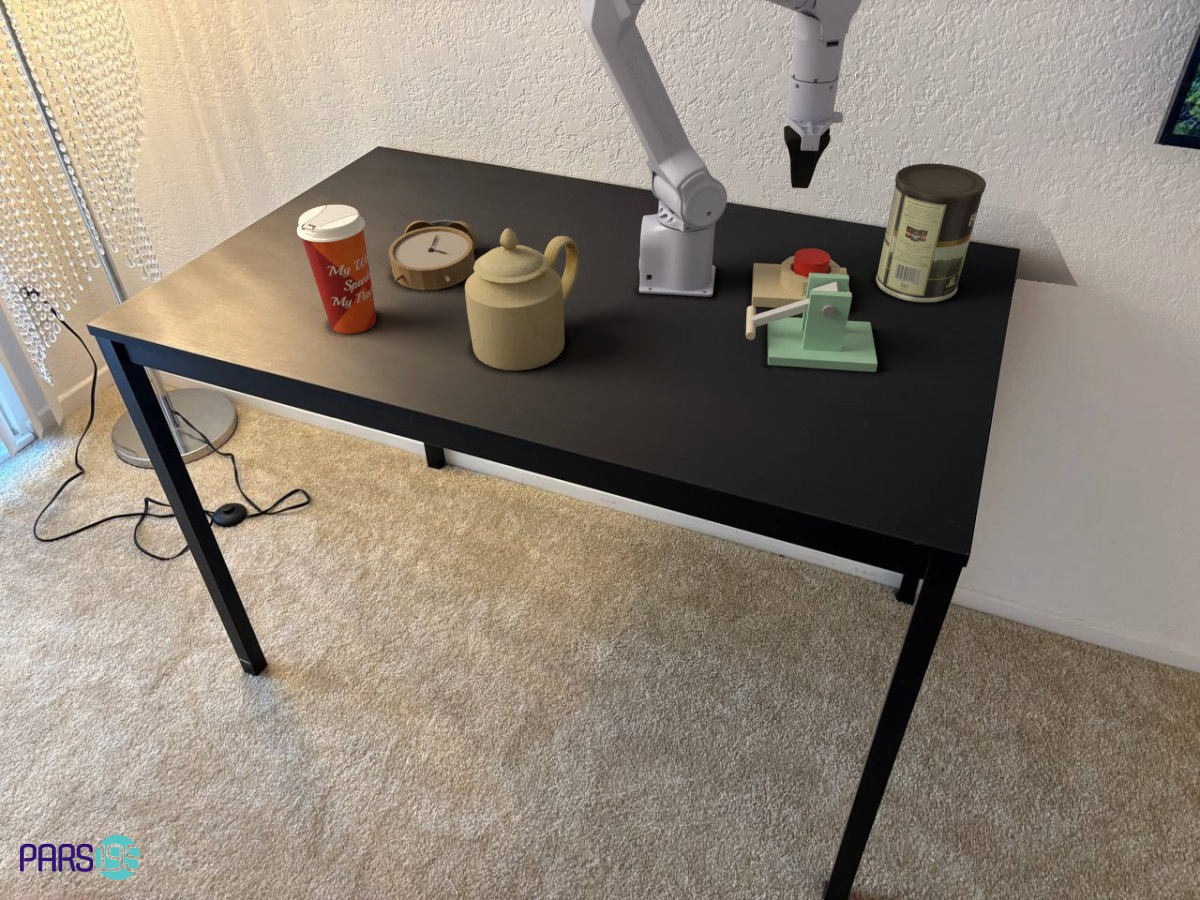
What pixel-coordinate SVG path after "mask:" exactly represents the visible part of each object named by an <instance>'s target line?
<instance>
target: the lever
mask: <svg viewBox="0 0 1200 900" xmlns="http://www.w3.org/2000/svg"><path fill="white" fill-rule="evenodd" d="M812 290H819V291H837V292H840V290H839V287H838V284H837V282H833V283H830V284H827V285H823V286H820V287H817V288H814V289H812ZM808 303H809V298H808V299H805V300H802V301H798V302H795V303H792V304H789V305H786V306H782V307H779V308H772V309H770V310H767V311H763V312H760V313H757V308H756V306H752V305H749V306H747V308H746V320H745V339H747V340H749V341H753V340H754V339H756V331H757V330H756V329H757V328H758V327H760V326H761V327H762V326H764V325H768V323H771V322H774V321H777V320H781V319H784V318H787V317H793V316H798V315H800V314H803V312H807V310H808Z"/></svg>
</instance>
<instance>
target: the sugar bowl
mask: <svg viewBox="0 0 1200 900" xmlns="http://www.w3.org/2000/svg"><path fill="white" fill-rule="evenodd" d="M518 243H519V238H518V236H517V234H516V233H515V232H514V231H513V229H512V228H508V227H506V228H505V229H504V230H503V231H502V233H501V234H500V239H499V244H500V246H497V247H495V248H492V249H490V250H489V251H487V252H486V253H485V254H482V255H481V256H480V257H478V258H477V260H475V265H474V267H473V268H474V270H473V272H472V273H471V275H470V276H469V277H467V278H466V281H465V283H464V293H465V295H464V296H465V302H466V303H465V304H466V313H467V320H468V325H469V332H470V338H471V344H472V350H473V353H474V356H475V357H476V359H478V360H479V361H480V362H481V363H483V364H484V365H486V366H488V367H489V368H490V367H491V368H493V369H497V370H502V371H511V372H516V371H517V372H519V371H526V370H533V369H536V368H540V367H543V366H545V365H547V364H549V363H551V362H552V361H555V360H556V358H558V357H559V356H560V354H562V352H563V350H564V347H565V311H564V310H565V309H564V308H565V307H564V304H565V303H566V302H567V300H568V299H569V297H570V295H571V292H572V290H573V289H574V287H575V284H576V281H577V279H578V274H579V272H580V271H579V270H580V263H581V261H580V259H581V258H580V250H579V247H578V245H577V243H576V241H575V240H574V239H572V238H571V237H569V236H565V235H558V236H555V237H553V238H552V239H551V240H550V241H549V242H548V244H547V246H546V248H545V251H544V252H543V253H544V254H542V253H541V251H539V250H537V249H533V248H532V247H529V246H526V245H521V244H518ZM564 248H565V254H566V257H565V258H566V259H565V267H564V271H563V274H562V276H560V274H559V273H558V272H557V271H556V265H557V261H558V257H559V255H560V253H561V251H562V249H564Z"/></svg>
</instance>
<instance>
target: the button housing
mask: <svg viewBox="0 0 1200 900" xmlns="http://www.w3.org/2000/svg"><path fill="white" fill-rule="evenodd" d="M794 257H795V255H793V256H789V257H788V258H786V259H785V260H783V261H782V262H781V263H779V264H778V263H758V262H754V263H753V267H752V281H751V282H752V285H751V306H754V307H755V308H756V307H757V308H772V309H776V308H779V307H782V306H786V305H789V304H792V303H795V302H798V301H802V300H805V298H806V291H807V285H808V278H809V277H804V276H801V275H798V274H796V273H794V272H793V264H794ZM828 274H840V275H848V271H847V267H841V266H840V265H839V264H838V263H837V262H835V261H834V260H833V259H832V258H830V264H829V270H828ZM849 284H850V283H849ZM849 284H848V289H847V292H851V291H850V285H849ZM851 305H852V304H851ZM851 305H850V307H851ZM850 311H851V309H850V310H849V312H850Z"/></svg>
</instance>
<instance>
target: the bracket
mask: <svg viewBox="0 0 1200 900" xmlns="http://www.w3.org/2000/svg"><path fill="white" fill-rule="evenodd" d="M833 282H837V284H838V287H839V290H840V292H837V291H819V290H812V289H814V288H817V287H820V286H823V285H827V284H830V283H833ZM848 284H850V274H847V275H840V274H821V273H809V278H808V285H807V291H806V298H805V299H808V298H809V303H808V310H807V312H803V313H802V317H793V316H790V317H787V318H784V319H781V320H777V321H774V322H771V323H768V324H767V366H780V367H782V366H783V367H797V368H809V369H824V370H838V371H839V370H840V371H854V372H855V371H857V372H868V373H869V372H871V373H876V372H877V368H878V358H877V352H876V347H875V340H874V335H873V329H872V323H871V322H870V321H860V320H859V321H857V320H856V321H855V320H849V314H850V311H851V306H850V305H852V299H853V293H852V292H851V291H850V292H847V289H848ZM849 310H850V311H849Z"/></svg>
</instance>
